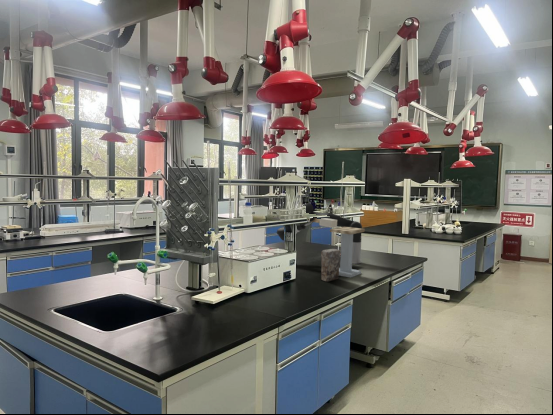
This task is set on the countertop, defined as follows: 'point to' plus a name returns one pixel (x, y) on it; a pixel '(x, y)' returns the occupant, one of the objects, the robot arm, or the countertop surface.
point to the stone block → (330, 264)
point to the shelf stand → (347, 250)
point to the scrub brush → (326, 222)
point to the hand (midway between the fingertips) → (315, 218)
